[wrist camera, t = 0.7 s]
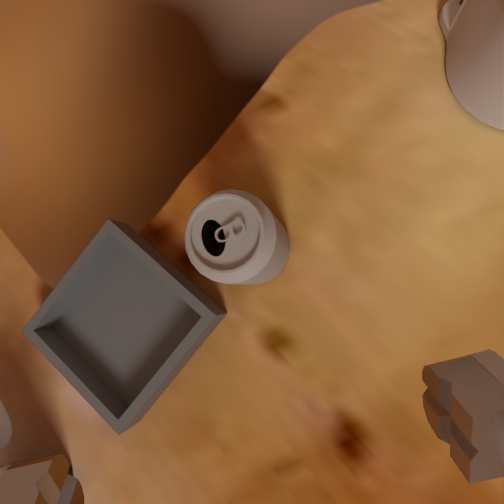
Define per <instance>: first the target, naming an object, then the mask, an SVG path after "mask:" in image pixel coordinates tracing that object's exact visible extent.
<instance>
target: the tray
mask: <svg viewBox="0 0 504 504" xmlns="http://www.w3.org/2000/svg"><path fill="white" fill-rule="evenodd" d="M226 314H227V312H226V311H224V310H223V309H222V308H221V307H220V306H219V305H218V304H217V303H215V302H214V301H213V300H212V299H211V298H210V297H209V296H208V295H206V294H205V293H204V292H203V291H202V290H201V289H200V288H199V287H198V286H196V285H195V284H194V283H193V282H192V281H191V280H190V279H189V278H187V277H186V276H185V275H184V274H183V273H182V272H181V271H180V270H178V269H177V268H176V267H175V266H174V265H173V264H172V263H171V262H169V261H168V260H167V259H166V258H165V257H164V256H163V255H162V254H160V253H159V252H158V251H157V250H156V249H155V248H154V247H153V246H151V245H150V244H149V243H148V242H147V241H146V240H145V239H144V238H142V237H141V236H140V235H139V234H138V233H137V232H136V231H135V230H133V229H132V228H131V227H130V226H129V225H127V224H124V223H120V222H117V221H114V220H110V219H108V220H107V221H106V223H105V224H104V225H103V226H102V228H101V229H100V230H99V232H98V233H97V234H96V235H95V237H94V238H93V239H92V241H91V242H90V243H89V244H88V246H87V247H86V248H85V250H84V251H83V252H82V254H81V255H80V256H79V258H78V259H77V260H76V261H75V263H74V264H73V265H72V266H71V268H70V269H69V270H68V272H67V273H66V274H65V276H64V277H63V278H62V279H61V281H60V282H59V283H58V285H57V286H56V287H55V288H54V290H53V291H52V292H51V294H50V295H49V296H48V297H47V299H46V300H45V301H44V303H43V304H42V305H41V306H40V308H39V309H38V310H37V312H36V313H35V314H34V316H33V317H32V318H31V319H30V321H29V322H28V323H27V325H26V326H25V327H24V328H23V330H22V332H23V334H24V335H25V336H26V337H27V338H28V339H29V340H30V341H31V342H32V343H33V344H34V345H35V346H36V347H37V348H38V350H39V351H40V352H41V353H42V354H43V355H44V356H45V357H46V358H47V359H48V360H49V361H50V362H51V363H52V364H53V366H54V367H55V368H56V369H57V370H58V371H59V372H60V373H61V374H62V375H63V376H64V377H65V378H66V379H67V380H68V382H69V383H70V384H71V385H72V386H73V387H74V388H75V389H76V390H77V391H78V392H79V393H80V394H81V395H82V396H83V398H84V399H85V400H86V401H87V402H88V403H89V404H90V405H91V406H92V407H93V408H94V409H95V410H96V411H97V412H98V414H99V415H100V416H101V417H102V418H103V419H104V420H105V421H106V422H107V423H108V424H109V425H110V426H111V427H112V428H113V430H114V431H115V432H116V433H117V434H118V435H120V434H122V433H123V432H125V431H126V430H127V429H129V428H130V427H132V426H133V425H135V424H136V423H138V422H139V421H140V420H141V419H142V417H143V416H144V415H145V414H146V412H147V411H148V410H149V409H150V408H151V406H152V405H153V404H154V403H155V401H156V400H157V399H158V398H159V396H160V395H161V394H162V393H163V392H164V390H165V389H166V388H167V387H168V385H169V384H170V383H171V382H172V380H173V379H174V378H175V377H176V376H177V374H178V373H179V372H180V371H181V369H182V368H183V367H184V366H185V364H186V363H187V362H188V361H189V360H190V358H191V357H192V356H193V355H194V353H195V352H196V351H197V350H198V348H199V347H200V346H201V345H202V344H203V342H204V341H205V340H206V339H207V337H208V336H209V335H210V334H211V332H212V331H213V330H214V329H215V328H216V326H217V325H218V324H219V323H220V321H221V320H222V319H223V318H224V316H225V315H226Z"/></svg>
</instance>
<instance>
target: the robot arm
mask: <svg viewBox="0 0 504 504" xmlns="http://www.w3.org/2000/svg"><path fill="white" fill-rule="evenodd" d="M460 4H462V5H460ZM439 23H440V26H441V29H442V32H443V34H444V36H445V39H446V44H447V49H446V74H447V79H448V83H449V85H450V88H451V90H452V92H453V94H454V96H455V97H456V99H457V100H458V102H459V103H460V104H461V106H462V107H463V108H464V109H465V110H466V111H467V112H469V113H470V114H471V115H472V116H473V117H475V118H476V119H478V120H480V121H481V122H483V123H485V124H487V125H489V126H492V127H494V128H497V129H501V130H504V0H448V1H447V2H446V3H445V5H444V6H443V8H442V10H441V11H440V13H439ZM422 380H423V381H424V383H425V384H426V386H427V387H428V388H427V389H426V391H425V392H424V394H423V407H424V410H425V414H426V417H427V420H428V422H429V424H430V426H431V428H432V429H433V431H434V432H435V434H436V435H437V437H438V438H439V439H441V440H443V441H444V442H446V443H448V444H450V456H451V458H452V459H453V460H454V462H455V463H456V465H457V466H458V468H459V469H460V471H461V472H462V474H463V475H464V476H465V478H466V479H467V481H468V482H469V484H472V483H476V482H481V481H486V480H490V479H495V478H499V477H504V359H503V358H502V357H501V356H499V355H498V354H497V353H496V352H494V351H492V350H485V351H482V352H478V353H474V354H470V355H467V356H462V357H458V358H454V359H450V360H446V361H442V362H438V363H434V364H430V365H426V366H424V368H423V370H422ZM69 467H70V464H69V462H68V461H67V459H66V457H65V456H64V455H61V454H57V455H52V456H48V457H43V458H38V459H34V460H29V461H24V462H20V463H15V464H12V465H8V466H3V467H0V504H84V494H83V490H82V486H81V484H80V482H79V480H78V479H77V478H75V477H73V476H71V475H69V474H67V473H68V470H69Z"/></svg>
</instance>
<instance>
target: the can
mask: <svg viewBox="0 0 504 504" xmlns="http://www.w3.org/2000/svg"><path fill="white" fill-rule="evenodd" d="M184 239H185V249H186V252H187V254H188V257H189V259H190V261H191V263H192V264H193V266H194V267H195V268H196V269H197V270H198V271H199V273H200V274H202V275H204V276H205V277H207V278H209V279H210V280H212V281H216V282H220V283H225V284H245V285H254V284H262V283H265V282H267V281H269V280H272V279H274V278H275V277H276V276H277V275H278V274H279V273H280V272H281V271H282V270H283V268H284V267H285V265H286V263H287V261H288V258H289V253H290V242H289V236H288V234H287V232H286V230H285V228H284V226H283V225H282V224H281V223H280V221H279V220H278V219H277V218H276V217H275V215H274V214H273V213H272V212H271V211H270V209H269V208H268V207H267V206H266V205H265V204H264V203H263V202H262V201H261V200H260V199H259V198H258V197H256V196H254V195H252V194H250V193H248V192H247V191H242V190H236V189H228V190H222V191H217V192H215V193H213V194H211V195H209V196H207V197H205V198H204V199H203V200H202V201H201V202H200V203H199V204H198V205H197V206H196V207H195V208H194V209H193V211H192V213H191V215H190V217H189V218H188V220H187V224H186V229H185V233H184Z"/></svg>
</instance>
